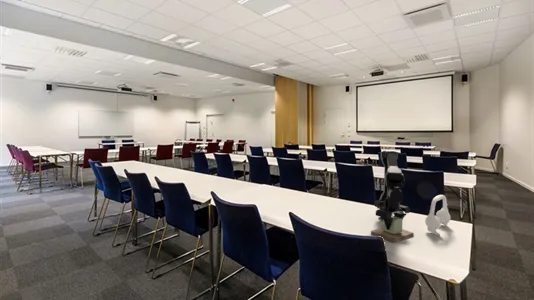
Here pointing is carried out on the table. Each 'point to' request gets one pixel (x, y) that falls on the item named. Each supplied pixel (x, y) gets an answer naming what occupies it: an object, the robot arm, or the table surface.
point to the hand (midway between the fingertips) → (392, 228)
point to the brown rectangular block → (390, 236)
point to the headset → (437, 215)
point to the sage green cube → (394, 225)
